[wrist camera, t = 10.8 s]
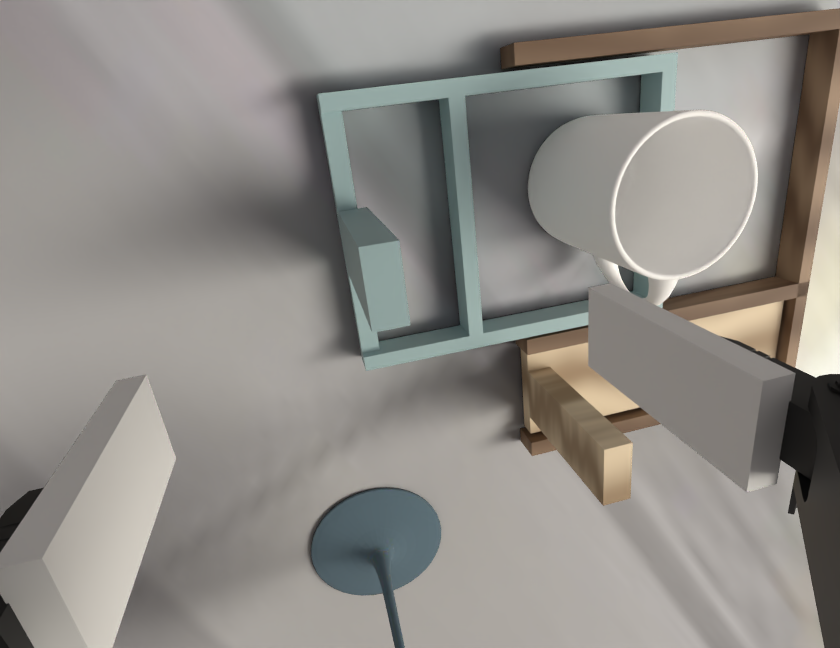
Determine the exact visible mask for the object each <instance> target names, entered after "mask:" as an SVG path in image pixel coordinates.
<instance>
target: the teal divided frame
mask: <svg viewBox="0 0 840 648" xmlns="http://www.w3.org/2000/svg"><path fill="white" fill-rule="evenodd" d="M677 58H678V52H676V53H667V54H658V55H650V56H641V57H632V58H624V59H615V60H606V61H597V62H589V63H580V64H571V65H563V66H554V67H545V68H537V69H528V70H519V71H511V72H502V73H493V74H485V75H476V76H467V77H459V78H450V79H441V80H433V81H424V82H415V83H406V84H398V85H389V86H380V87H372V88H363V89H354V90H346V91H337V92H328V93H320V94H317V96H316V97H317V103H318V108H319V114H320V120H321V126H322V131H323V137H324V143H325V149H326V154H327V160H328V166H329V172H330V177H331V183H332V189H333V194H334V200H335V206H336V212H337V217H338V223H339V229H340V235H341V240H342V246H343V252H344V258H345V263H346V269H347V275H348V281H349V286H350V292H351V298H352V303H353V309H354V315H355V321H356V326H357V332H358V338H359V344H360V349H361V355H362V360H363V363H364V366H365V369H366V371H369V370H373V369H378V368H383V367H388V366H393V365H397V364H402V363H407V362H412V361H417V360H422V359H426V358H431V357H436V356H441V355H446V354H450V353H455V352H460V351H465V350H470V349H475V348H479V347H484V346H489V345H494V344H499V343H503V342H508V341H513V340H518V339H523V338H528V337H532V336H537V335H542V334H547V333H552V332H557V331H561V330H566V329H571V328H576V327H581V326H585V325H588V303H589V300H585V301H580V302H575V303H570V304H565V305H560V306H555V307H550V308H545V309H540V310H534V311H529V312H524V313H519V314H514V315H509V316H504V317H499V318H494V319H489V320H484V321H482V310H481V297H480V284H479V271H478V258H477V245H476V232H475V219H474V206H473V193H472V180H471V167H470V154H469V141H468V128H467V115H466V102H465V96H472V95H480V94H489V93H497V92H505V91H513V90H521V89H530V88H538V87H546V86H554V85H563V84H571V83H579V82H587V81H595V80H604V79H612V78H620V77H628V76H636V75H641V95H640V113H642V112H663V111H674V108H675V92H676V75H677ZM431 100H439V107H440V117H441V128H442V138H443V149H444V160H445V170H446V181H447V191H448V202H449V212H450V223H451V234H452V244H453V255H454V265H455V276H456V287H457V297H458V308H459V318H460V325H459V326H454V327H449V328H444V329H439V330H434V331H429V332H424V333H419V334H414V335H409V336H404V337H399V338H394V339H389V340H383V341H378V336H377V332H380V331H385V330H390V329H395V328H400V327H405V326H411V325H410V317H409V310H408V302H407V295H406V287H405V280H404V272H403V264H402V257H401V249H400V242H399V240H398V239H397V238H396V237H395V236H394V234H393V233H392V232H391V231H390V230H389V229H388V228H387V227H386V226H385V225H384V224H383V223H382V222H381V221H380V220H379V219H378V218H377V217H376V216H375V215H374V214H373V213H372V212H371V211H370V210H369V209H368V208H367V207H365V208H359V209H357V204H356V197H355V191H354V185H353V179H352V172H351V166H350V160H349V153H348V147H347V141H346V135H345V128H344V122H343V116H342V111H349V110H357V109H365V108H374V107H382V106H390V105H398V104H407V103H415V102H423V101H431ZM648 291H649V282H648V277H646V276H643V275H641V274H638V273H636V272H634V282H633V291H630V293H632V294H634V295H636V296H638V297H640V298H646V297H647V295H648ZM658 306H659V307H661V308H663V303H661V304H660V305H658Z"/></svg>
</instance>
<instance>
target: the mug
mask: <svg viewBox="0 0 840 648" xmlns="http://www.w3.org/2000/svg"><path fill="white" fill-rule="evenodd" d="M757 181H758V173H757V163H756V157H755V153H754V150H753V147H752V145H751V143H750V141H749V139H748V137H747V136H746V134H745V133H744V131H743V130H742V129H741V128H740V127H739V126H738V125H737V124H736V123H735V122H734V121H732V120H731V119H730V118H728V117H726V116H724V115H722V114H720V113H717V112H713V111H709V110H684V111H663V112H642V113H622V114H601V115H590V116H584V117H580V118H577V119H574V120H572V121H570V122H568V123H566V124H564V125H562V126H561V127H559V128H558V129H556V130H555V131H554V132H553V133H552V134H551V135H550V136H549V137H548V138H547V139H546V140H545V141H544V142H543V144H542V145H541V147H540V148H539V150H538V152H537V154H536V156H535V158H534V160H533V163H532V165H531V169H530V173H529V180H528V197H529V202H530V206H531V209H532V212H533V214H534V216H535V218H536V220H537V221H538V223H539V224H540V225H541V227H542V228H543V229H544V230H545V231H546V232H547V233H549V234H550V235H551V236H553V237H554V238H556V239H558V240H560V241H562V242H564V243H566V244H568V245H571V246H573V247H576V248H578V249H580V250H583V251H585V252H588V253H590V254H592V255H593V256H594V259H595V261H596V263H597V265H598V267H599V269H600V270H601V272H602V273H603V275H604V276H605V278H606V279H607V280H608V282H609V283H611V284H613V285H615V286H617V287H620V288H622V289H624V290H626V291H628V292H629V290H628V289H627V288H626V286H625V285H624V283H623V281H622V279H621V276H620V273H619V269H618V265H619V266H622V267H624V268H626V269H629V270H631V271H634V272H636V273H638V274H641V275H643V276H646V277H648V282H649V291H648V295H647V297H646V298H642V299H644V300H646V301H648V302H650V303H652V304H655V305H657V306H658V305H660V304H661V303H663V302H664V301H665V300H666V299H667V298H668V297H669V296H670V294H671V293H672V291H673V289H674V287H675V285H676V283H677V281H678V279H682V278H686V277H689V276H692V275H694V274H697V273H699V272H701V271H702V270H704V269H706V268H708V267H709V266H711V265H712V264H713V263H715V262H716V261H717V260H718V259H720V258H721V257H722V256H723V255H724V254H725V253H726V252H727V251H728V250H729V249H730V248H731V246H732V245H733V244H734V242H735V241H736V240H737V238H738V237H739V235H740V234H741V232H742V230H743V229H744V227H745V225H746V223H747V221H748V219H749V216H750V214H751V211H752V208H753V204H754V201H755V196H756V191H757Z"/></svg>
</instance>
